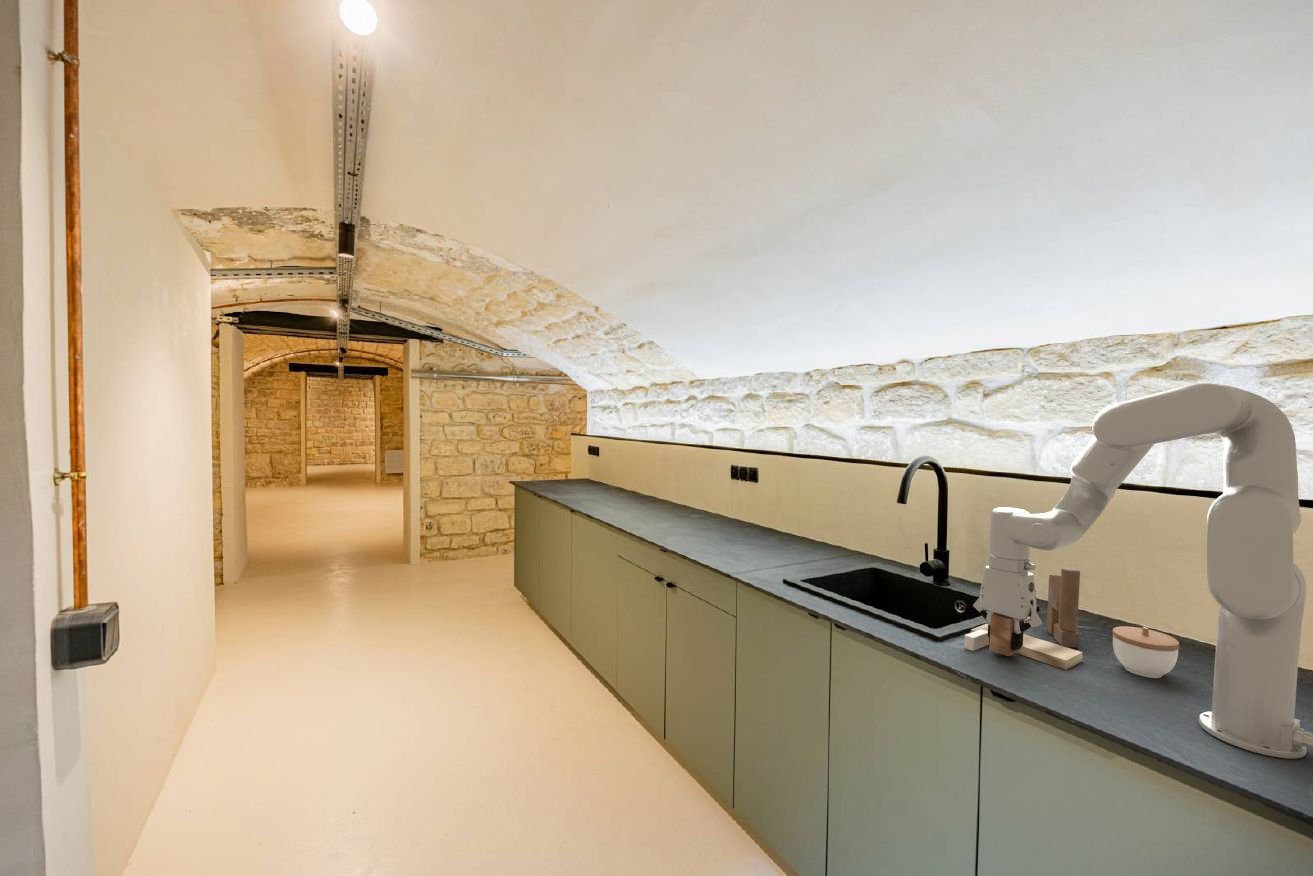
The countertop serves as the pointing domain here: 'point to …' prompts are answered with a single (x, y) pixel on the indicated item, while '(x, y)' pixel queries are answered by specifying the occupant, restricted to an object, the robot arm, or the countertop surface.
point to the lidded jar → (1145, 651)
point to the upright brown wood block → (1002, 634)
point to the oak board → (1046, 651)
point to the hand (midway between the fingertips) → (1004, 644)
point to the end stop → (976, 640)
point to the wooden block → (1064, 607)
